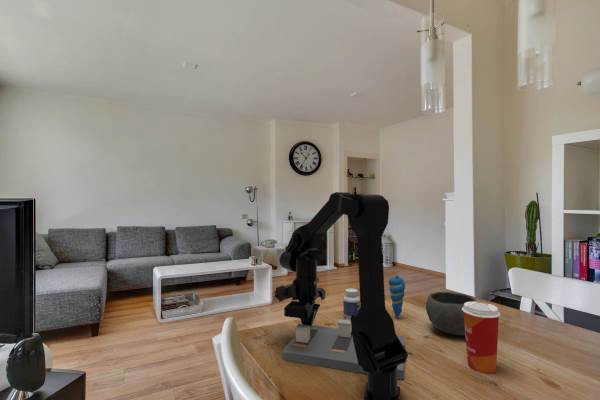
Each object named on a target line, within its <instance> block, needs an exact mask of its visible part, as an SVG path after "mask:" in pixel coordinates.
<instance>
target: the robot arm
mask: <svg viewBox="0 0 600 400" xmlns="http://www.w3.org/2000/svg"><path fill="white" fill-rule="evenodd" d="M343 215H346V216H347V219H348V225H349V227H350V229H351V230H352V231H353V233H354V235H355V236H356V241H357V245H356V246H357V261H358V264H357V265H358V280H359V281H358V282H359V286H358V287H359V298H360V310H359V312H358V314H354V315H351V327H352V330H351V336H352V335H353V343H354V347H355V351H356V356H357V360H358V364H359V365H360V366H361V367H362V368H363V371H365V372H367V374H366V375H367V382H366V387H365V391H364V396H363V400H401V387H400V385H398V384H399V383H398V379H397V365H400V364H402V363H404V364H406V363H407V361H408V360H407V359H408V356H409V354H408V351H407V350H406V348H405V346H404V347H403V345H402V343H401V342H400V340H399V338H398V337H397V336H398V335H397V334H396V329H395V328H396V327H395V323H394V319H393V317H391V315H390V313H389V311H388V309H387V308H386V295H385V275H384V263H383V262H384V258H383V257H384V256H383V255H384V254H383V240H382V239H383V235H384V232H385V231H386V228H387V226H388V225H389V215H390V205H389V201H388V199H386V198H385V196H383V195H381V194H364V193H363V194H360V193H357V194H353V193H350V192H347V191H345V192H342V191H341V192H340V191H337V192H336V191H335V192H334V193H331V194H330V196H329V198H328V200H327V201H326V202H325V204H324V205H323V206H322V207H321V208H320V210H319V211H318V212H317V213H316V214H315V215H314V216H313V217H312V218H311V220H310V221H309V222H307V223H305V224H302V225H301V226H299V227H297V228H295V230H293V232H292V235H291V237H290V239H289V241H288V244H287V246H285V248H284V249H285V250H284V251H283V252H282V253H281V254H280V257H279V264H280V267H282V268H283V269H285V270H287V271H290V272H293V273H295V278H294V279H293V281H292V283H289V284H286V285H283V284H282V285H280V286H277V287H276V288H275V291H274V298H276V299H277V300H278V302H283V301H285V300H287V299H291V301H290V302H289V303H288V304H287V305H286V306H285V307H284V308H283V315H284V317H286V318H296V319H299V320H300V322H301V324H304V325H310V329H311V327H312V325H314V321H315V319H316V318H317V317H316V316H317V314H318V311H319V309H320V307H321V304H320V303H316V300H317V299H318V298H320V300H321V301H324V300H325V299H326V297H327V296H326V290H325V289H324V288H323V287H318V283H319V281H320V277H318V274H317V273H318V269H317V268H318V267H317V266H318V264H317V262H318V261H320V260H322V257H321V256H320V255H319V254H318V252H317V250H318V249H319V248H320V246H321V245H322V243H323V242H324V241H325V238H324V236H325V233H327V232H328V231H329V230H330V229H331V228H332V226H333V225H335V223H336V222H337V221H339V219H341V218H342V216H343ZM384 351H385V352H384ZM382 352H383V353H382ZM379 353H380V354H379ZM376 354H378V355H376Z"/></svg>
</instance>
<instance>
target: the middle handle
mask: <svg viewBox="0 0 600 400" xmlns="http://www.w3.org/2000/svg"><path fill="white" fill-rule="evenodd" d="M337 325H338V328H339V336H340V337H348V338H351V330H352V327H351V321H348V320H344V319H339V320H338V323H337Z"/></svg>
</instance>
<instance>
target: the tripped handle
mask: <svg viewBox="0 0 600 400" xmlns="http://www.w3.org/2000/svg"><path fill="white" fill-rule="evenodd" d="M294 329H295V336H296V341H297V342H304V343H308V342H309V340H310V325H304V324H302V323H298V324H296V326H295V328H294Z"/></svg>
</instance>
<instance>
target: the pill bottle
mask: <svg viewBox="0 0 600 400" xmlns="http://www.w3.org/2000/svg"><path fill="white" fill-rule="evenodd" d="M344 294H345V295H344V297H343V301H342V303H343V320H348V321H351V315H354V314H358V312H359V310H360V296H358V295H359V293H358V289H356V288H346V289H345V293H344Z"/></svg>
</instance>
